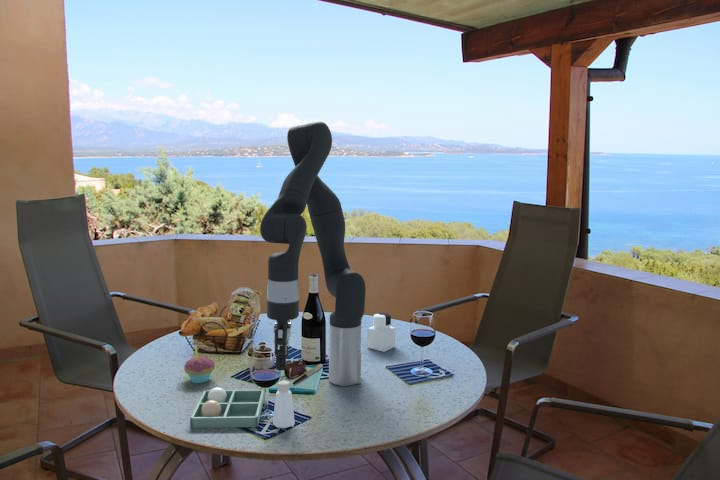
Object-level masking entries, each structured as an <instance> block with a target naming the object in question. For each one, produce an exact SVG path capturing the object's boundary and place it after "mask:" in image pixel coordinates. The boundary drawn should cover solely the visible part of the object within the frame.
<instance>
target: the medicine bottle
mask: <svg viewBox="0 0 720 480" xmlns="http://www.w3.org/2000/svg"><path fill="white" fill-rule="evenodd" d="M372 319H373V321H372V323H373V325H372V326H370V327H369V328H367V349H371V350H375V351H379V352H383V353H385V352H388V351H389V350H391V349H393V348H396V331H397V328H396V327H395V326H392V325H391V323H392V316H391V314H389V313H387V312H377V313H374V314H373V317H372Z"/></svg>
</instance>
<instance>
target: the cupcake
mask: <svg viewBox="0 0 720 480" xmlns="http://www.w3.org/2000/svg"><path fill="white" fill-rule="evenodd" d="M194 352H195V353H194V354H195V357H193V358H190V359H188V361H186V362H185V364H184V366H183V367H184V368H183V369H184V372H185V374H187V375H188V377H189V379H190V381H191V383H194V384H202V383H206V382H208V381H209V380H210V377H211V374H212V372H213V371H214V370H215V368H216V366H215V365H216V364H215V361H214V360H213V359H210V358H209V357H207V356H203V355H201V356H199V355H198V354H199V353H198V346H197V345H196V343H194Z"/></svg>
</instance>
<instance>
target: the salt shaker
mask: <svg viewBox="0 0 720 480" xmlns="http://www.w3.org/2000/svg"><path fill="white" fill-rule="evenodd" d="M277 388H278V389H277V391H276V393H275V399H274V400H275V401H274V410H273V419H272V425H274V427H276V428H279V429H287V428H290V427H292V428H293V427H294V426H295V424H296V422H295V421H296V420H295V413H294V403H293V402H294V401H293V395H292V391H291V390H290V381H288V380H279V381H278V383H277Z"/></svg>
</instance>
